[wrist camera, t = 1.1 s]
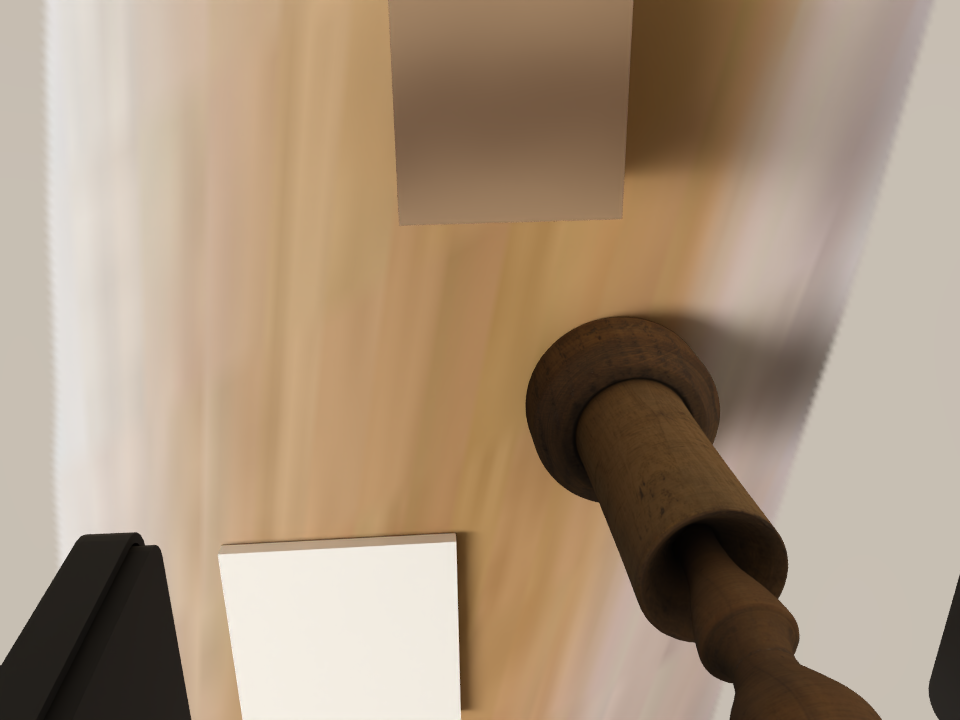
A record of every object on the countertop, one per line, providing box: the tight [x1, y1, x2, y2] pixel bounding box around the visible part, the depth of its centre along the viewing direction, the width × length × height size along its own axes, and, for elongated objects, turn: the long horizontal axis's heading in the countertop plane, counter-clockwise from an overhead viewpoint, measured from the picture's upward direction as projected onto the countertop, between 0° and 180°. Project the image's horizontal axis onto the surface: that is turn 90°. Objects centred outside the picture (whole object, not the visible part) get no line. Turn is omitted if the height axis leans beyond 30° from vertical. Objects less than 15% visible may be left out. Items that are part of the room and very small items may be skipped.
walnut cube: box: [388, 0, 633, 226], centre depth 24 cm, size 6×6×6 cm
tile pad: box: [218, 533, 461, 720], centre depth 34 cm, size 9×9×1 cm
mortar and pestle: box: [526, 317, 882, 720], centre depth 23 cm, size 7×6×18 cm
